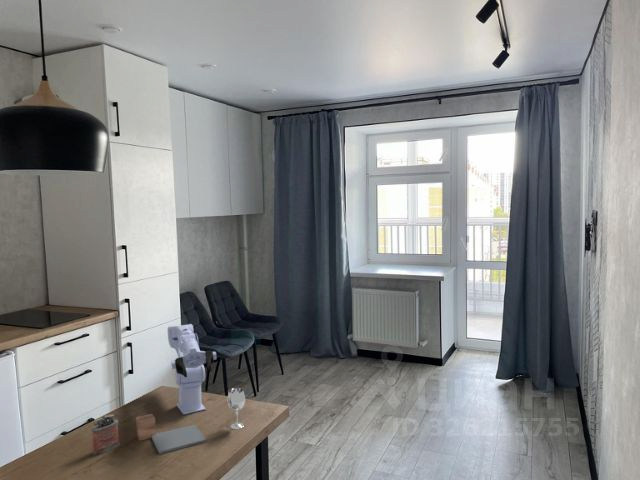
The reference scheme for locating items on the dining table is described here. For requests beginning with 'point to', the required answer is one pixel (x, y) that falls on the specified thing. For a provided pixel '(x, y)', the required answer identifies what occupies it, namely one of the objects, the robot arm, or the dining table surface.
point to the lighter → (105, 434)
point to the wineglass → (236, 404)
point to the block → (145, 426)
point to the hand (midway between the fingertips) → (198, 371)
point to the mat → (177, 439)
